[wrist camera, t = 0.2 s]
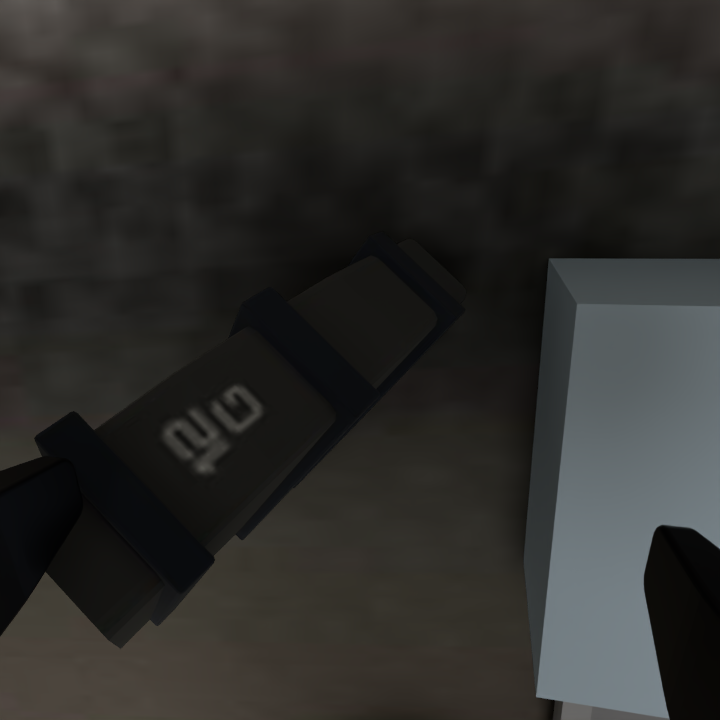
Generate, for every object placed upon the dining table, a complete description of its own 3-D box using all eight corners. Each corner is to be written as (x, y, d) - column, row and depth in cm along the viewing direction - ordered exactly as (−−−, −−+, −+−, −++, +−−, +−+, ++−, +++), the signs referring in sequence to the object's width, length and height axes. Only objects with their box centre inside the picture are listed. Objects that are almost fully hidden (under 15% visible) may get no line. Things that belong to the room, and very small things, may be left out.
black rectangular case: (539, 235, 17) (122, 655, 9) (380, 400, 28) (128, 656, 19) (450, 153, 17) (-37, 482, 9) (327, 349, 28) (57, 579, 20)
